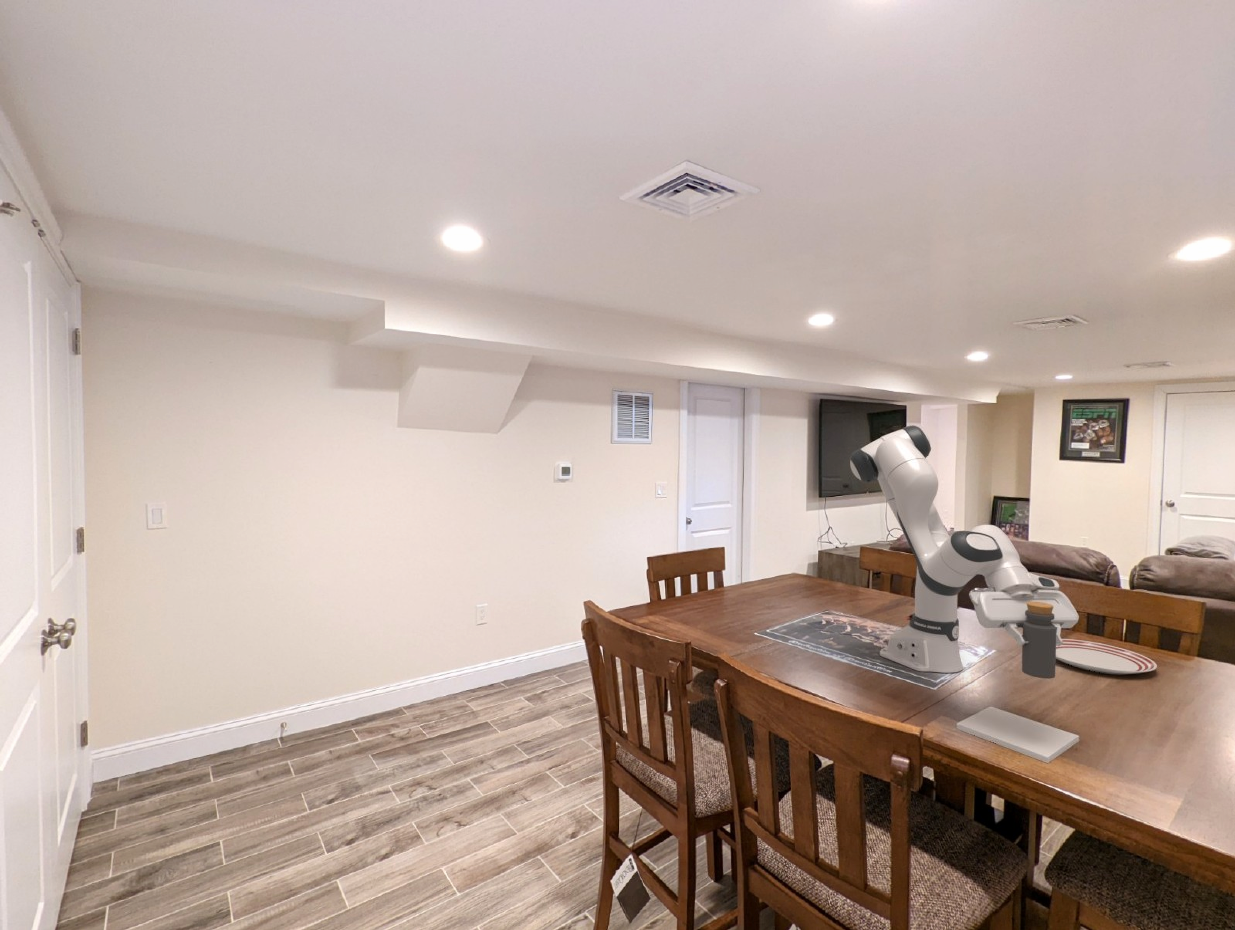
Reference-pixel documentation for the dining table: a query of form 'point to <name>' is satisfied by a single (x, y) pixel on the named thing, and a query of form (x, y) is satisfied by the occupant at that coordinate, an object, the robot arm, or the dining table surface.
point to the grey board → (1019, 733)
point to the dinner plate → (1102, 658)
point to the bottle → (1039, 641)
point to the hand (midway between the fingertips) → (1041, 644)
